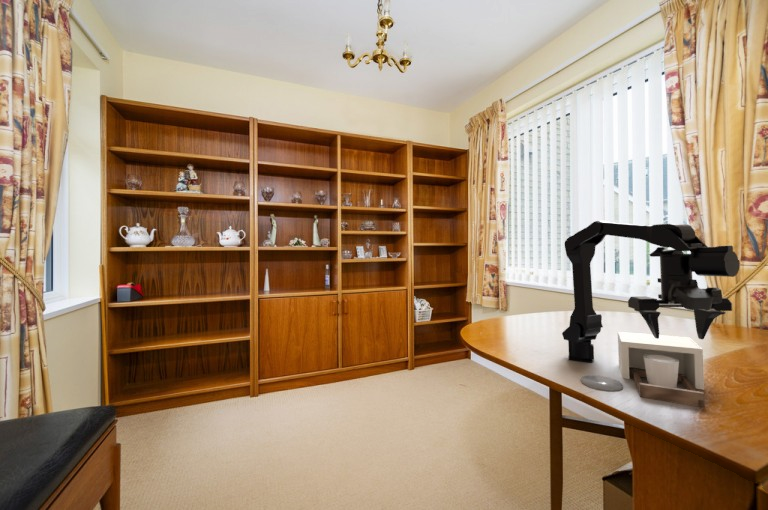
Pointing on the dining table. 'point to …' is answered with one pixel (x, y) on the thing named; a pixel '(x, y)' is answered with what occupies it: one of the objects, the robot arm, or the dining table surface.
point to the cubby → (677, 347)
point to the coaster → (601, 383)
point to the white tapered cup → (661, 370)
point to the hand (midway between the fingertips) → (678, 338)
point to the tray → (669, 391)
